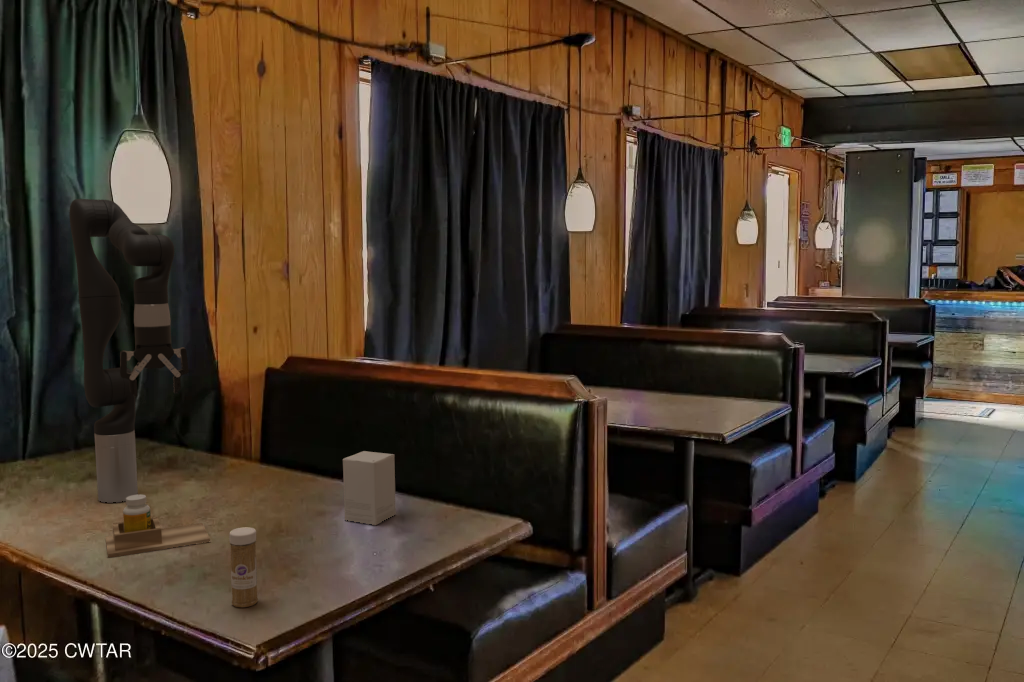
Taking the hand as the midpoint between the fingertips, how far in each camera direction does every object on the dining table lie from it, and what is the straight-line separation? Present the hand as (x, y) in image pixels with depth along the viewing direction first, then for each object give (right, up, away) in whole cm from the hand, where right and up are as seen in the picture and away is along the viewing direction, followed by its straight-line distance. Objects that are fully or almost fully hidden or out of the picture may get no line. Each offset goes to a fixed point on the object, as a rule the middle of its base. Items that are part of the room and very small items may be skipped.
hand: (155, 394), depth 193 cm
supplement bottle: (+1, -31, -11) cm, 33 cm away
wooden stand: (+4, -31, -9) cm, 33 cm away
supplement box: (+48, -30, +7) cm, 57 cm away
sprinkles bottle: (+33, -35, -41) cm, 63 cm away
